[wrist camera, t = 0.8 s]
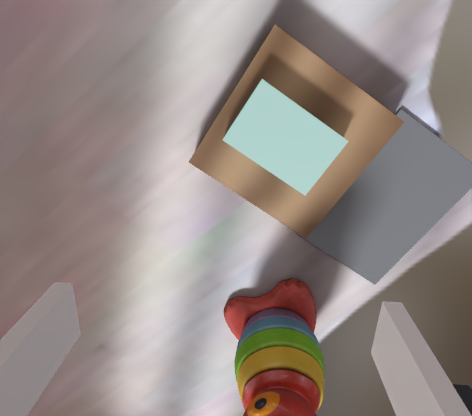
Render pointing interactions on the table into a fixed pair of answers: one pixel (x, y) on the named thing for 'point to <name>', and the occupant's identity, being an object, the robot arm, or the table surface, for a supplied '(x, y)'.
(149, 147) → the table surface
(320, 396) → the stacking bear
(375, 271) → the mat
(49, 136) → the table surface
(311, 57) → the tan flat square slab
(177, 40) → the table surface
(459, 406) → the robot arm
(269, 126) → the mint green block
